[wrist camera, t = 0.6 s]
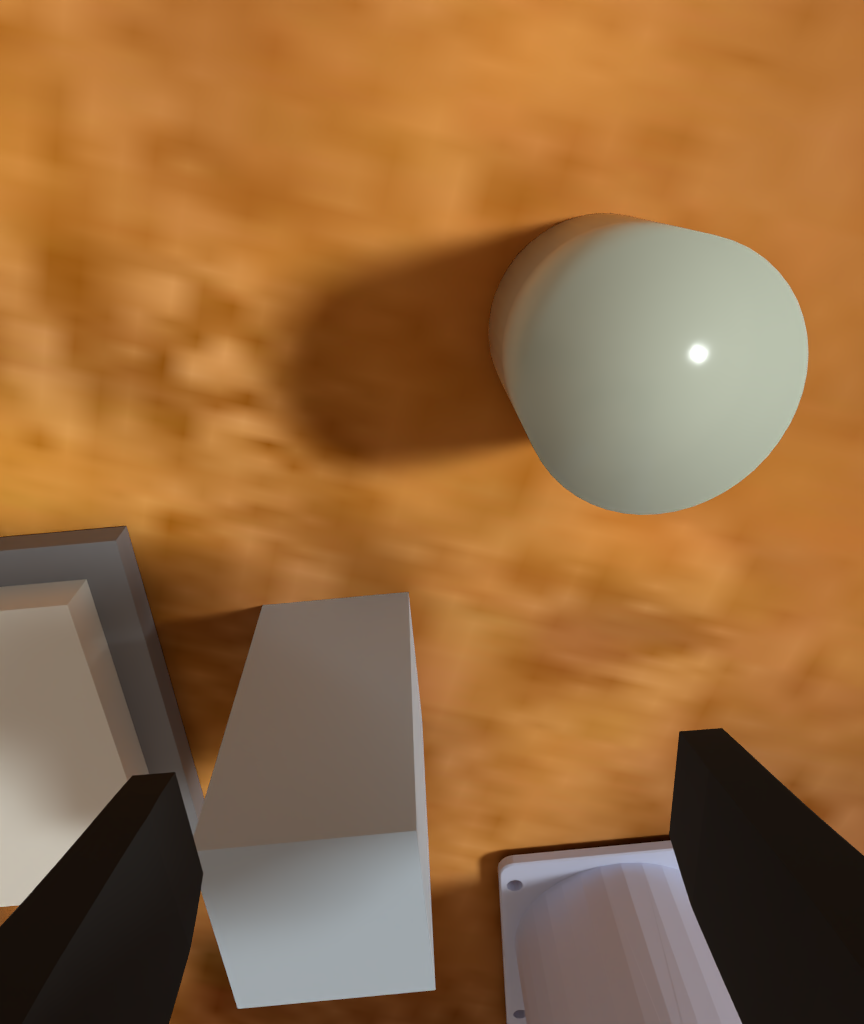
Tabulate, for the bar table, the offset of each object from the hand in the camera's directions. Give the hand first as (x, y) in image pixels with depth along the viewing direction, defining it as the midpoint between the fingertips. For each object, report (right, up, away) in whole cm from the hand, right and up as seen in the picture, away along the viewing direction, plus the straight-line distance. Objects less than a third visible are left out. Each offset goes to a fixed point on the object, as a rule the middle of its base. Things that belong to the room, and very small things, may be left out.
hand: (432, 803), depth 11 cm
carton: (-2, 0, +10) cm, 11 cm away
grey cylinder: (+4, +9, +7) cm, 12 cm away
